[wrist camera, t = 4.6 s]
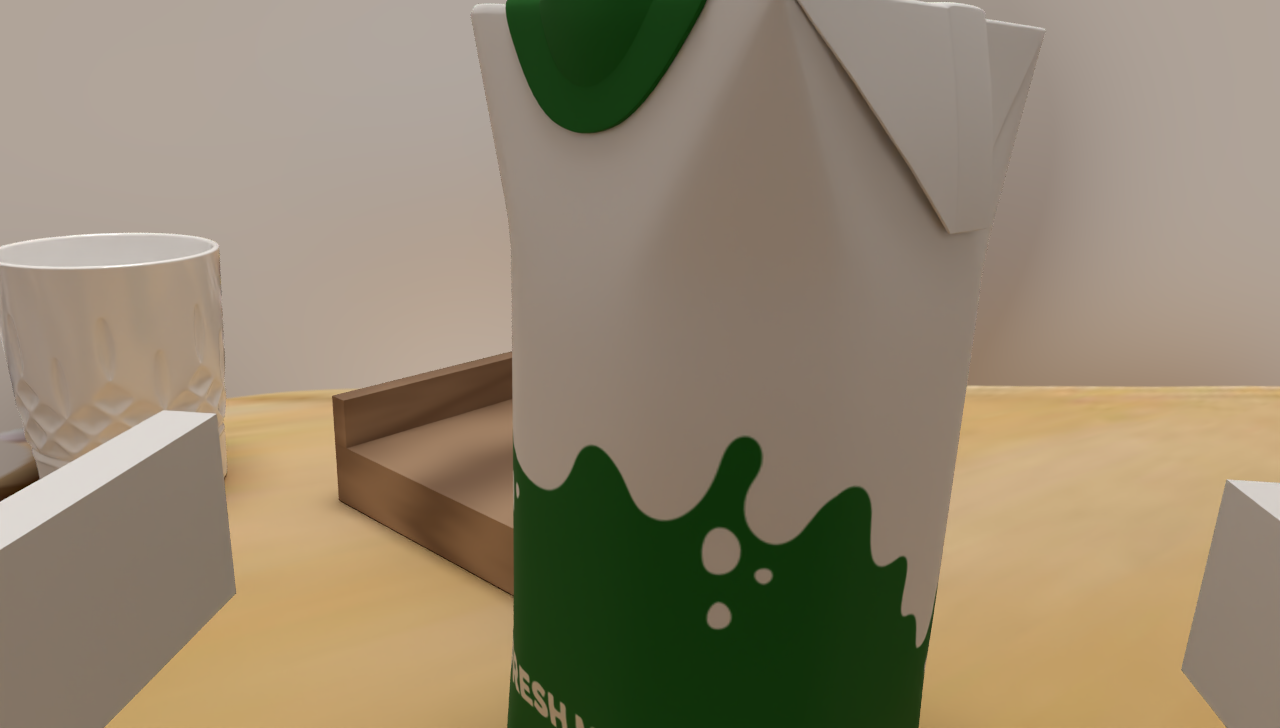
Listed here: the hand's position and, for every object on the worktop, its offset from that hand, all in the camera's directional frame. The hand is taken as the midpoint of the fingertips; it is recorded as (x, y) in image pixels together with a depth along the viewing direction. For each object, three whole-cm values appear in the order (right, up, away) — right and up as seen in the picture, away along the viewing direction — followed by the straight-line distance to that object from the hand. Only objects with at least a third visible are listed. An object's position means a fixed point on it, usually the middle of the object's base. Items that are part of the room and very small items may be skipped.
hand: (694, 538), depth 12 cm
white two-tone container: (+1, -9, +10) cm, 13 cm away
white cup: (-22, -3, +26) cm, 34 cm away
